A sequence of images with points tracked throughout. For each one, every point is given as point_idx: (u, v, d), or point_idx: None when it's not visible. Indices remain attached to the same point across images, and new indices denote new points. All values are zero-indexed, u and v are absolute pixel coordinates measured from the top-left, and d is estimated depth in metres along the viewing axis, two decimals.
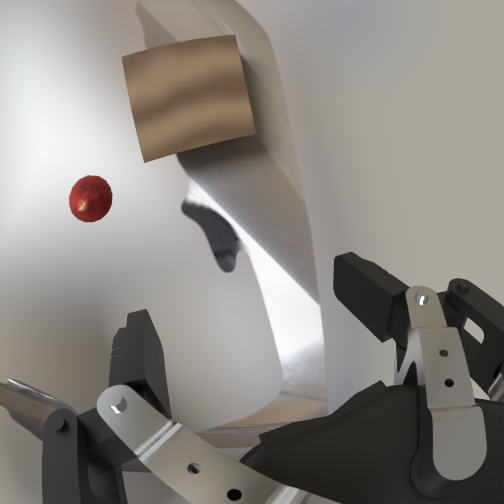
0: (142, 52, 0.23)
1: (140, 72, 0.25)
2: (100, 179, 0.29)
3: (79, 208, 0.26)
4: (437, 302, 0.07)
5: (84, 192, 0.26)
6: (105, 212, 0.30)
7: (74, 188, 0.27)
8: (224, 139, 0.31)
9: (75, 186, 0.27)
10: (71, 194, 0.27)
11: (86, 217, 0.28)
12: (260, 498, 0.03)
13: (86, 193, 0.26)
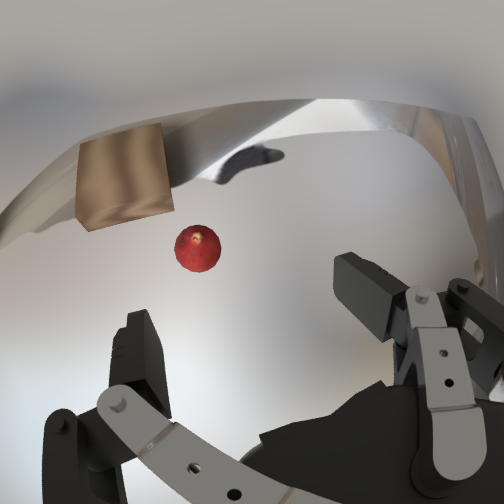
0: (76, 201, 0.32)
1: (93, 200, 0.33)
2: None
3: (198, 239, 0.30)
4: (437, 302, 0.07)
5: (185, 238, 0.31)
6: None
7: (182, 256, 0.32)
8: (161, 140, 0.37)
9: (180, 256, 0.32)
10: (187, 259, 0.31)
11: (212, 243, 0.32)
12: (259, 498, 0.03)
13: (186, 236, 0.31)
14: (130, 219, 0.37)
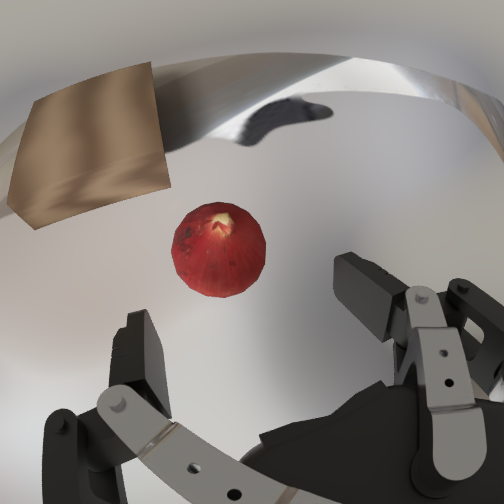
0: (12, 178, 0.15)
1: (34, 173, 0.16)
2: None
3: (225, 227, 0.13)
4: (437, 302, 0.07)
5: (194, 228, 0.14)
6: None
7: (188, 268, 0.15)
8: (151, 79, 0.21)
9: (184, 268, 0.15)
10: (199, 274, 0.15)
11: (252, 236, 0.15)
12: (260, 498, 0.03)
13: (196, 223, 0.14)
14: (96, 204, 0.20)
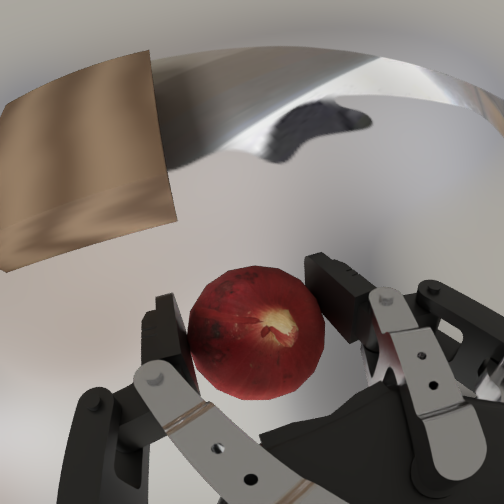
0: None
1: None
2: None
3: (286, 337, 0.07)
4: (402, 304, 0.07)
5: (226, 326, 0.09)
6: (296, 278, 0.11)
7: (216, 376, 0.09)
8: (149, 72, 0.15)
9: (211, 374, 0.09)
10: (235, 387, 0.09)
11: (316, 330, 0.09)
12: (274, 486, 0.03)
13: (231, 318, 0.09)
14: (77, 244, 0.15)
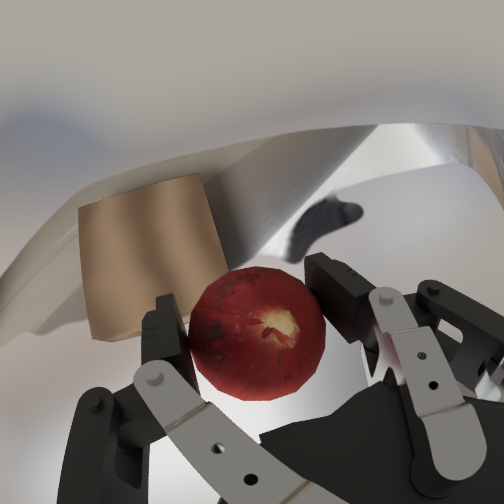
0: (89, 312, 0.22)
1: (115, 312, 0.22)
2: (200, 297, 0.11)
3: (287, 338, 0.07)
4: (402, 304, 0.07)
5: (228, 327, 0.09)
6: (297, 279, 0.11)
7: (217, 377, 0.09)
8: (207, 204, 0.27)
9: (212, 375, 0.09)
10: (236, 388, 0.09)
11: (317, 331, 0.09)
12: (274, 486, 0.03)
13: (232, 319, 0.09)
14: None
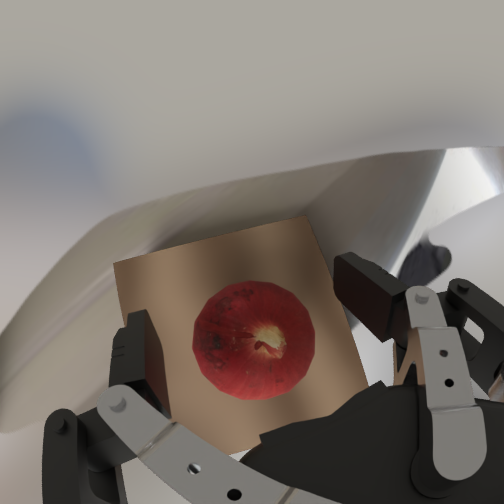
0: None
1: (205, 433, 0.14)
2: (202, 309, 0.12)
3: (275, 350, 0.09)
4: (437, 302, 0.07)
5: (225, 339, 0.10)
6: (289, 291, 0.12)
7: (218, 380, 0.10)
8: (325, 266, 0.19)
9: (213, 378, 0.11)
10: (235, 390, 0.10)
11: (305, 340, 0.10)
12: (260, 498, 0.03)
13: (229, 332, 0.10)
14: None
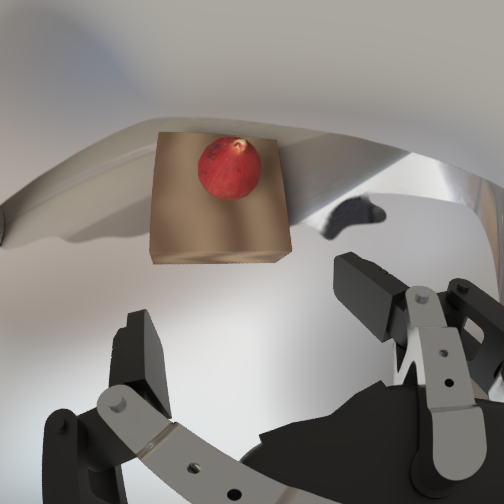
0: (152, 226, 0.25)
1: (180, 232, 0.25)
2: None
3: (242, 146, 0.20)
4: (437, 302, 0.07)
5: (221, 145, 0.21)
6: None
7: (209, 168, 0.22)
8: (279, 167, 0.30)
9: (207, 168, 0.22)
10: (216, 173, 0.22)
11: (255, 160, 0.22)
12: (260, 498, 0.03)
13: (223, 142, 0.21)
14: (219, 262, 0.30)
